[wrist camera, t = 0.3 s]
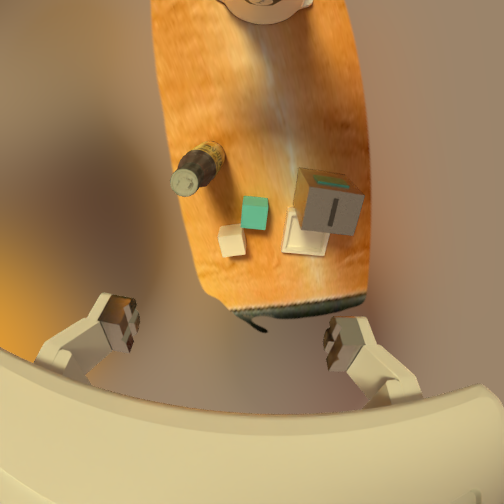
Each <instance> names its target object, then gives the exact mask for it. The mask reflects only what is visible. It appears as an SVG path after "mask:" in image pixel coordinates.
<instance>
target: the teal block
mask: <svg viewBox="0 0 504 504" xmlns="http://www.w3.org/2000/svg"><path fill="white" fill-rule="evenodd" d="M267 214H268V198H261V197H251V196H244V198H243V206H242V217H241V228H249V229H260V230H265V228H266V221H267Z"/></svg>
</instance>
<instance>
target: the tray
mask: <svg viewBox="0 0 504 504" xmlns="http://www.w3.org/2000/svg"><path fill="white" fill-rule="evenodd" d="M329 236H330V233H325V232H316V231H307V230H301V228H300V225H299V222H298V218H297V215H296V212H295V208H292V207H288V208H287V213H286V219H285V225H284V231H283V237H282V242H281V252H286V253H297V254H307V255H318V256H324V254H325V251H326V247H327V243H328V240H329Z"/></svg>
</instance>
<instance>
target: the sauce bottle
mask: <svg viewBox="0 0 504 504" xmlns="http://www.w3.org/2000/svg"><path fill="white" fill-rule="evenodd" d="M224 161H225V153H224V150H223V148H222V146H220V145H219V144H218V143H216V142H214V141H206V142H203V143H201V144H199V145H198V146H196V147H195V148H194V149H192V150H191V151H189V152H188V153H187V154H186V155H185V156H183V158H182V159H181V160H180V162H179V165H178V169H177V170H176V171H175V172H174V173H173V175H172V177H171V180H170V183H171V188H172V190H173V191H174V192H175V193H176V194H177V195H179V196H184V197H186V196H191V195H193V194H194V193H195V192H196V191H197V190H198V189H199V187H205V186H207V185H208V184H209V183H210V181H211V180H212V179H213V178H214V177H215V176H216V174H217V173H218V171H219V170H220V168H221V167H222V165H223V163H224Z"/></svg>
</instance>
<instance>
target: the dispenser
mask: <svg viewBox="0 0 504 504" xmlns="http://www.w3.org/2000/svg"><path fill="white" fill-rule="evenodd" d="M364 196H365V195H364V194H363V193H362V192H361V191H360V190H359V189H358V188H357V187H356V186H355V185H354V184H353V183H352V182H351V181H350V180H349V178H348V177H347V176H346V175H343V174H337V173H332V172H325V171H319V170H313V169H306V168H299V170H298V176H297V182H296V188H295V194H294V200H293V205H294V208H295V212H296V215H297V218H298V222H299V225H300V228H301V230H307V231H316V232H325V233H334V234H342V235H350V236H353V235H354V232H355V229H356V225H357V222H358V218H359V215H360V211H361V208H362V204H363V200H364Z"/></svg>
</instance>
